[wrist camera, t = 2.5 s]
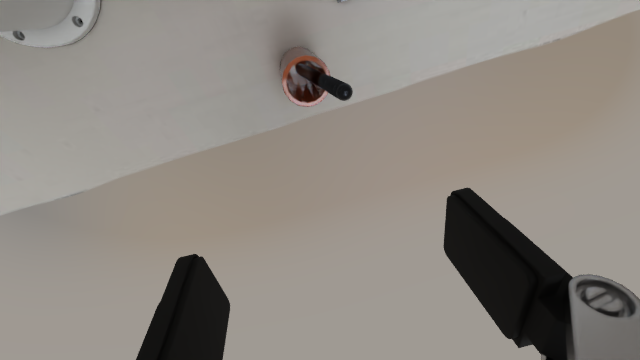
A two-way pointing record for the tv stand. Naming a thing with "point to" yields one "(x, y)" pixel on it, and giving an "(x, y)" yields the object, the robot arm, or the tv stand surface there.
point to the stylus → (325, 82)
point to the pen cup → (297, 85)
